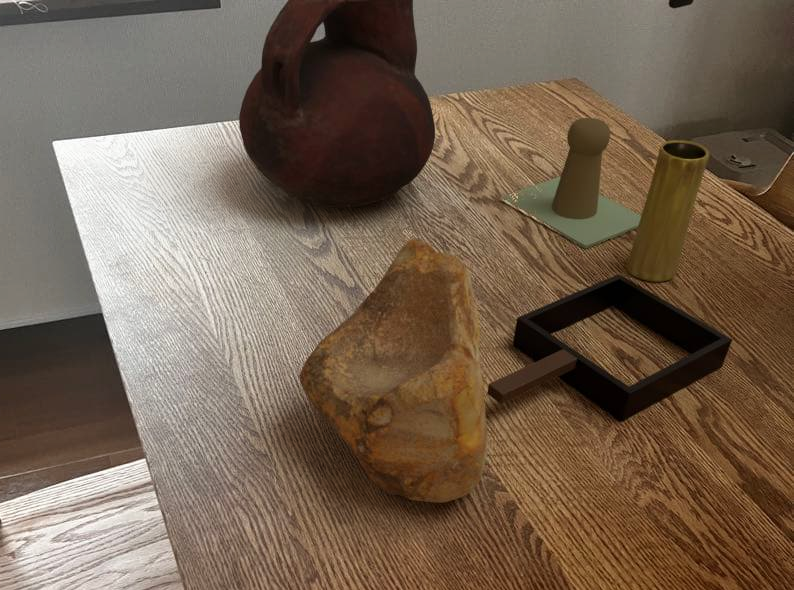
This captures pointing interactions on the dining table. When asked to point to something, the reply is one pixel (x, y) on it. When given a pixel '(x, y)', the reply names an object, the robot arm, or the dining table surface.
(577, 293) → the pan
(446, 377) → the rough brown rock
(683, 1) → the robot arm
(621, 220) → the mat
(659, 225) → the vase
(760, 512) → the dining table surface
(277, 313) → the dining table surface
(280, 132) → the jug
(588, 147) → the olive pawn figure
